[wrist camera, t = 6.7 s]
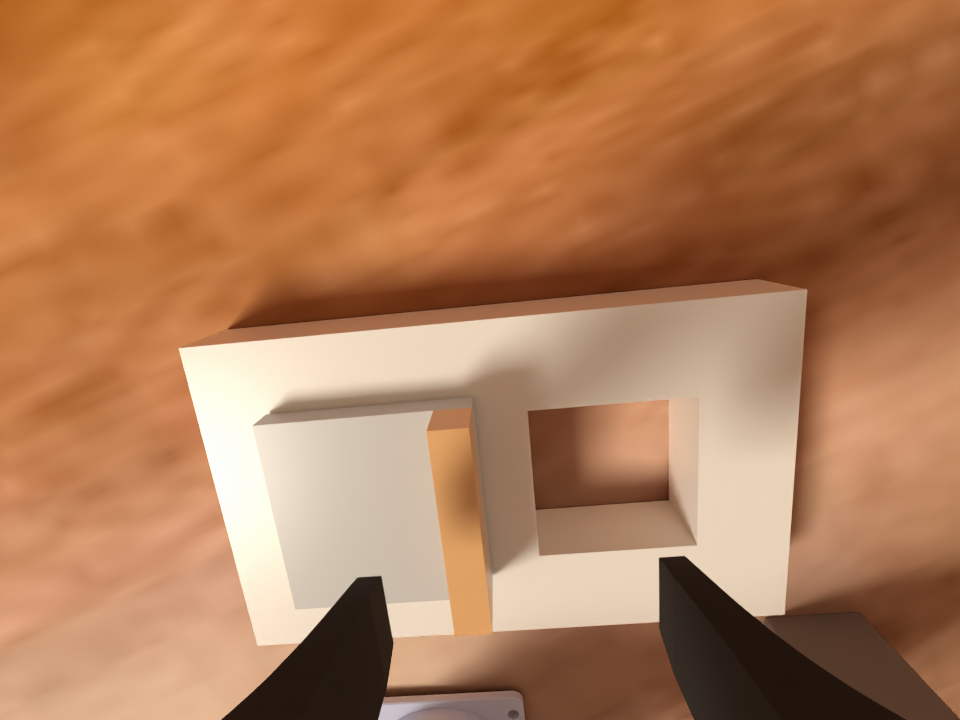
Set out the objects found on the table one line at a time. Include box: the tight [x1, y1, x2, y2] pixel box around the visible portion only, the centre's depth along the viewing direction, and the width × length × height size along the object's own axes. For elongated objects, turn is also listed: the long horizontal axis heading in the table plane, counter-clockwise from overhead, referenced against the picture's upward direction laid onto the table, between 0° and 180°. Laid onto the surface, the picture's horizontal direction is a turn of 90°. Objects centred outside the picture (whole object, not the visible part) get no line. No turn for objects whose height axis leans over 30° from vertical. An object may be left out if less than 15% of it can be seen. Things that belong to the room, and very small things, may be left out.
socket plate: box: [179, 279, 807, 646], centre depth 19 cm, size 12×20×3 cm, turn 96°
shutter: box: [252, 397, 493, 636], centre depth 16 cm, size 7×7×3 cm
